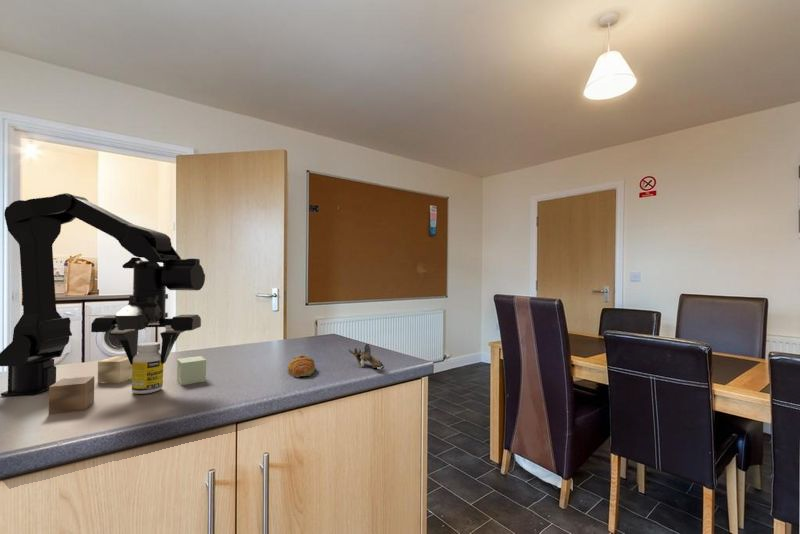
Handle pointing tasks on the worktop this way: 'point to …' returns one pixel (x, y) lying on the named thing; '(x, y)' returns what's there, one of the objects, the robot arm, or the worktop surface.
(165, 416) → the worktop surface
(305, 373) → the pastry
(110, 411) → the worktop surface
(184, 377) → the sage block
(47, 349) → the robot arm
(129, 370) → the maple block
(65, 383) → the walnut block
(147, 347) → the supplement bottle
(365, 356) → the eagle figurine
